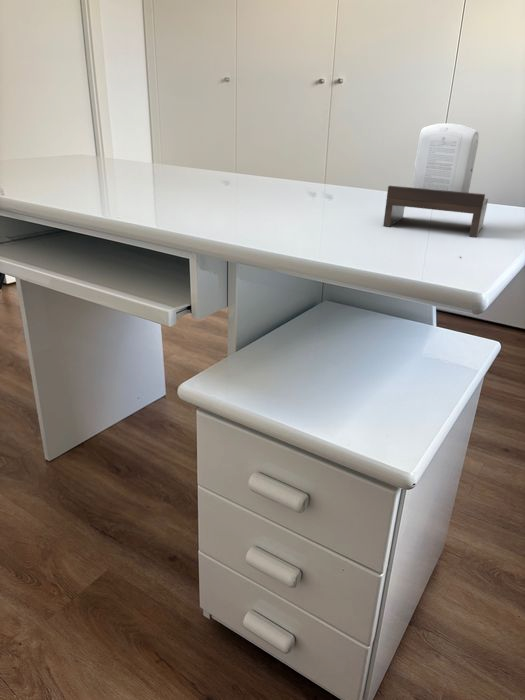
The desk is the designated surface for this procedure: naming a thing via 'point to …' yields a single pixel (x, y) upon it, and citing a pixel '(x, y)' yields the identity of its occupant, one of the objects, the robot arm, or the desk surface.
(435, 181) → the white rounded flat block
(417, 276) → the desk surface
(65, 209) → the desk surface
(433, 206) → the shelf
